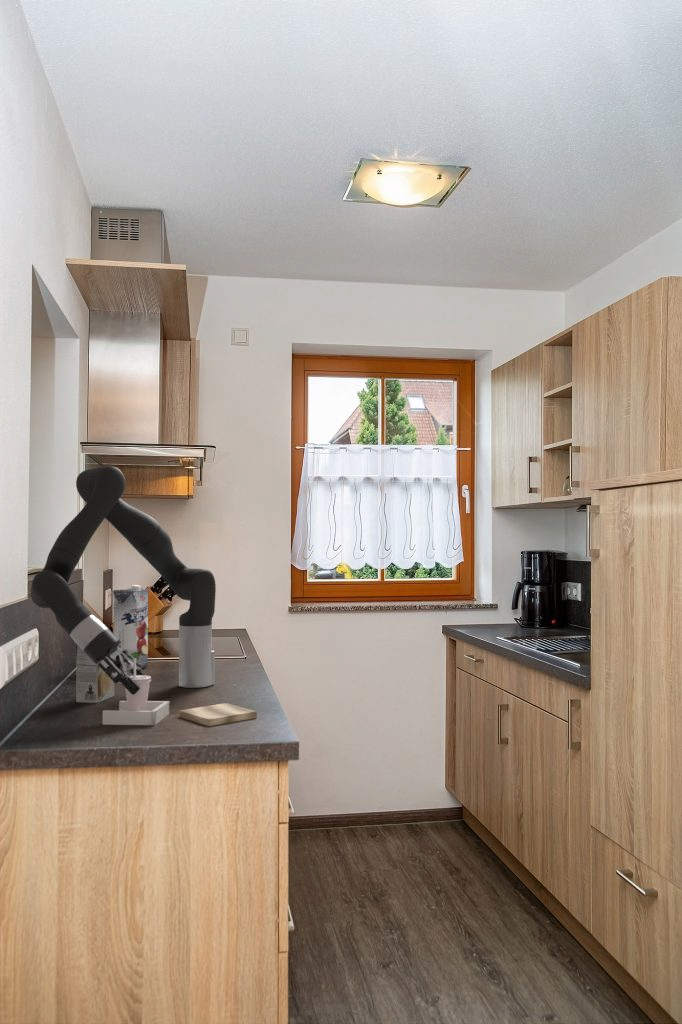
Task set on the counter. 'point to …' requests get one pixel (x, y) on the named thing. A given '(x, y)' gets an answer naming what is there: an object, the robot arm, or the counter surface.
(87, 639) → the robot arm
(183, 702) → the counter surface
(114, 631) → the juice carton
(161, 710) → the frame
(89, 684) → the coffee box
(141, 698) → the smoothie
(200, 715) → the brass board
